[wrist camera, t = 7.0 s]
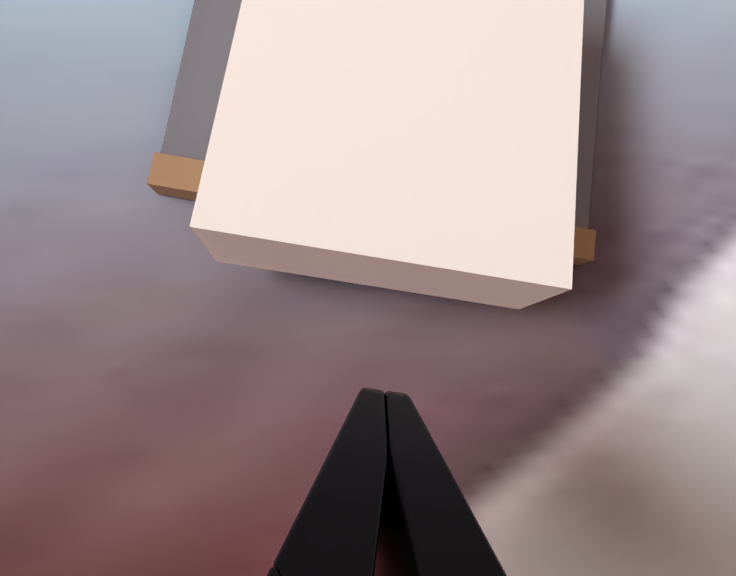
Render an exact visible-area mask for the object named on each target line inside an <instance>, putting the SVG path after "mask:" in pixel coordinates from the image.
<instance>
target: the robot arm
mask: <svg viewBox="0 0 736 576" xmlns="http://www.w3.org/2000/svg"><path fill="white" fill-rule="evenodd" d="M267 576H507V575H506V573H505V571H504V569H503V567H502V566H501V564H500V562H499V560H498V558H497V556H496V555H495V553H494V551H493V549H492V547H491V545H490V544H489V542H488V540H487V538H486V536H485V534H484V533H483V531H482V529H481V527H480V525H479V523H478V521H477V520H476V518H475V516H474V514H473V512H472V510H471V509H470V507H469V505H468V503H467V501H466V499H465V498H464V496H463V494H462V492H461V490H460V488H459V487H458V485H457V483H456V481H455V479H454V477H453V475H452V474H451V472H450V470H449V468H448V466H447V464H446V463H445V461H444V459H443V457H442V455H441V453H440V452H439V450H438V448H437V446H436V444H435V442H434V441H433V439H432V437H431V435H430V433H429V431H428V429H427V428H426V426H425V424H424V422H423V420H422V418H421V417H420V415H419V413H418V411H417V409H416V407H415V406H414V404H413V402H412V400H411V398H410V397H409V396H408V395H407V394H404V393H398V392H391V391H388V392H386V393H385V394H384V392H383V391H382V390H377V389H370V388H362V389H361V390H360V392H359V394H358V396H357V398H356V400H355V402H354V404H353V406H352V408H351V410H350V412H349V414H348V416H347V418H346V420H345V422H344V424H343V426H342V428H341V430H340V432H339V434H338V436H337V438H336V440H335V442H334V444H333V446H332V448H331V450H330V452H329V454H328V456H327V458H326V460H325V462H324V463H323V465H322V467H321V469H320V471H319V473H318V475H317V477H316V479H315V481H314V483H313V485H312V487H311V489H310V491H309V493H308V495H307V497H306V499H305V501H304V503H303V505H302V507H301V509H300V511H299V513H298V515H297V517H296V519H295V521H294V523H293V525H292V527H291V529H290V531H289V533H288V535H287V537H286V539H285V541H284V543H283V545H282V547H281V549H280V551H279V553H278V555H277V557H276V559H275V561H274V565H273V567H272V568H271V569H270V570H269V572H268V574H267Z"/></svg>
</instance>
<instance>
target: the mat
mask: <svg viewBox="0 0 736 576" xmlns="http://www.w3.org/2000/svg"><path fill="white" fill-rule="evenodd" d="M241 2H242V0H195V1H194V6H193V10H192V15H191V19H190V24H189V28H188V33H187V38H186V42H185V47H184V51H183V56H182V60H181V65H180V69H179V74H178V78H177V83H176V87H175V92H174V97H173V101H172V106H171V110H170V115H169V119H168V124H167V128H166V133H165V137H164V142H163V146H162V151H161V153H157V152H154V155H153V160H152V164H151V169H150V173H149V178H148V182H147V184H148V185H149V186H150V187H151V188H152V189H153V190H154V191H155V192H156V193H157V194H158V195H164V196H170V197H176V198H182V199H187V200H193V201H196V197H197V193H198V188H199V184H200V180H201V175H202V171H203V167H204V162H205V158H206V154H207V149H208V145H209V141H210V136H211V132H212V128H213V123H214V119H215V115H216V110H217V106H218V102H219V97H220V93H221V89H222V85H223V80H224V76H225V72H226V67H227V63H228V59H229V54H230V50H231V46H232V41H233V37H234V33H235V28H236V24H237V20H238V15H239V11H240V7H241ZM606 3H607V0H584V14H583V38H582V62H581V86H580V110H579V134H578V157H577V181H576V205H575V229H574V253H573V265H576V266H578V265H581V264H584V263H587V262H590V261H593V260H594V254H595V241H596V230H592V229H588V224H589V211H590V199H591V187H592V175H593V162H594V150H595V138H596V125H597V113H598V101H599V89H600V76H601V64H602V52H603V40H604V27H605V15H606Z"/></svg>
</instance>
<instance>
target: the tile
mask: <svg viewBox="0 0 736 576" xmlns="http://www.w3.org/2000/svg"><path fill="white" fill-rule="evenodd" d="M583 14H584V0H242V2H241V7H240V11H239V15H238V20H237V24H236V28H235V33H234V37H233V41H232V46H231V50H230V54H229V59H228V63H227V67H226V72H225V76H224V80H223V85H222V89H221V93H220V97H219V102H218V106H217V110H216V115H215V119H214V123H213V128H212V132H211V136H210V141H209V145H208V149H207V154H206V158H205V162H204V167H203V171H202V175H201V180H200V184H199V188H198V193H197V197H196V201H195V205H194V210H193V214H192V218H191V223H190V228H191V229H192V230H193V232H194V233H195V234H196V236H197V237H198V238H199V240H200V241H201V242H202V243H203V245H204V246H205V247H206V249H207V250H208V251H209V253H210V254H211V255H212V256H213V258H214V259H215V260H216V261H217V262H223V263H230V264H236V265H242V266H248V267H255V268H261V269H267V270H274V271H280V272H286V273H293V274H299V275H305V276H311V277H318V278H324V279H330V280H337V281H343V282H349V283H356V284H362V285H368V286H374V287H381V288H387V289H393V290H400V291H406V292H412V293H419V294H425V295H431V296H437V297H444V298H450V299H456V300H463V301H469V302H475V303H482V304H488V305H494V306H500V307H507V308H513V309H521V308H524V307H526V306H529V305H532V304H534V303H537V302H540V301H542V300H545V299H548V298H550V297H553V296H556V295H558V294H561V293H564V292H566V291H569V290H572V277H573V253H574V229H575V205H576V181H577V157H578V134H579V110H580V86H581V62H582V38H583Z"/></svg>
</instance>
